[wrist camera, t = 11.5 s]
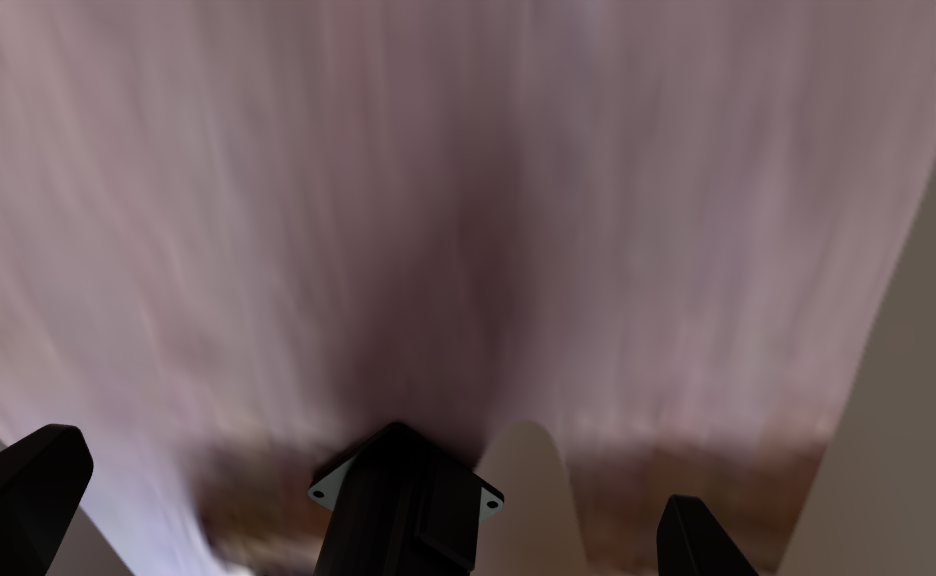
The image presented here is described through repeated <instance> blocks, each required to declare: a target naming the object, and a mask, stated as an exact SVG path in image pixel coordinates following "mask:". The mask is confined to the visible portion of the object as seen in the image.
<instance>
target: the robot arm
mask: <svg viewBox="0 0 936 576" xmlns="http://www.w3.org/2000/svg"><path fill="white" fill-rule="evenodd" d="M396 434H399V435H396ZM93 467H94V465H93V459H92V456H91V454H90V451H89V449H88V446H87V444H86V442H85V439H84V437H83V434H82V432H81V430H80V429H79V428H77V427H76V426H72V425H63V424H48V425H46V426H44V427H42V428H40V429H38V430H36V431H35V432H33V433H31V434H30V435H28V436H26V437H24V438H23V439H21V440H19V441H18V442H16V443H14V444H13V445H11V446H9V447H7V448H6V449H4V450H3V451H1V452H0V576H45V574H46V573H47V571H48V569H49V567H50V565H51V563H52V561H53V559H54V557H55V555H56V553H57V551H58V548H59V546H60V544H61V542H62V540H63V537H64V535H65V533H66V531H67V529H68V527H69V525H70V522H71V520H72V518H73V516H74V514H75V511H76V509H77V507H78V505H79V503H80V501H81V498H82V496H83V494H84V492H85V490H86V488H87V485H88V483H89V481H90V479H91V476H92V473H93ZM308 495H309V497H310V498H312V499H313V500H315V501H316V502H318V503H319V504H321V505H323V506H324V507H326V508H328V509H329V510H331V511H332V512H333V513H332V516H331V519H330V522H329V525H328V529H327V532H326V535H325V538H324V541H323V545H322V548H321V551H320V554H319V557H318V561H317V564H316V567H315V570H314V573H313V576H470V572H471V571H473V570H474V568H475V562H476V549H477V539H478V528H479V522H481V521H483V520H484V519H486V518H488V517H490V516H491V515H493V514H495V513H497V512H499V511H500V510H502V508H503V506H504V495H503V494H502V493H501V492H500V491H498V490H497V489H496V488H494V487H493V486H491V485H490V484H489V483H487V482H486V481H484V480H483V479H481V478H480V477H479V476H477V475H476V474H474V473H473V472H472V471H470V470H469V469H467V468H466V467H465V466H463V465H462V464H460V463H459V462H457V461H456V460H455V459H453V458H452V457H450V456H449V455H448V454H446V453H445V452H443V451H442V450H440V449H439V448H438V447H436V446H435V445H433V444H432V443H431V442H429V441H428V440H426V439H425V438H424V437H422V436H421V435H419V434H418V433H416V432H415V431H414V430H412V429H411V428H409V427H408V426H407V425H405V424H403V423H399V422H394V423H391V424H389V425H387V426H386V427H385V428H383V429H382V430H381V431H379V432H378V433H377V434H375V435H374V436H373V437H371V438H370V439H369V440H367V441H366V442H365V443H363V444H362V445H361V446H359V447H358V448H357V449H355V450H354V451H352V452H351V453H350V454H348V455H347V456H346V457H344V458H343V459H342V460H340V461H339V462H338V463H336V464H335V465H334V466H332V467H331V468H330V469H328V470H327V471H326V472H324V473H323V474H322V475H320V476H319V477H318V478H316V479H315V480H314V481H312V482H311V484H310V487H309V489H308ZM656 543H657V558H658V573H659V576H759V575H758V573H757V572H756V571H755V569H754V568H753V567H752V565H751V564H750V563H749V561H748V560H747V559H746V557H745V556H744V555H743V553H742V552H741V551H740V549H739V548H738V547H737V545H736V544H735V543H734V541H733V540H732V539H731V537H730V536H729V535H728V533H727V532H726V531H725V529H724V528H723V527H722V525H721V524H720V523H719V521H718V520H717V519H716V517H715V516H714V515H713V513H712V512H711V510H710V509H709V508H708V506H707V505H706V504H705V502H704V501H703V500H702V499H701V498H699V497H697V496H693V495H684V494H672V495H671V496H670V497H669V499H668V501H667V504H666V506H665V509H664V512H663V514H662V517H661V520H660V522H659V525H658V528H657V537H656ZM265 576H266V575H265Z"/></svg>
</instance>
